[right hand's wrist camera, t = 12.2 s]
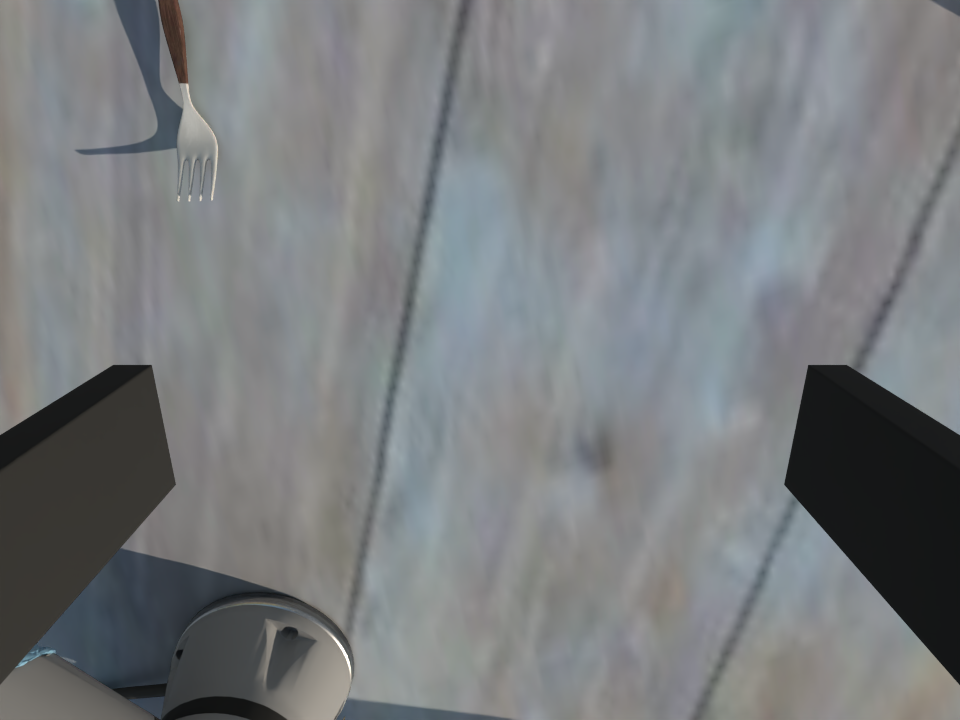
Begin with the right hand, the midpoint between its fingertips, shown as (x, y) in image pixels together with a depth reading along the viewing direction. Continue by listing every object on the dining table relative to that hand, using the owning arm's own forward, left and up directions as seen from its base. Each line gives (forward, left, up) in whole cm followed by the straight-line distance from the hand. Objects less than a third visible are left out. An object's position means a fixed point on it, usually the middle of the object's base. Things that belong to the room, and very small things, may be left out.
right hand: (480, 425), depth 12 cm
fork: (-15, +14, -30) cm, 36 cm away
